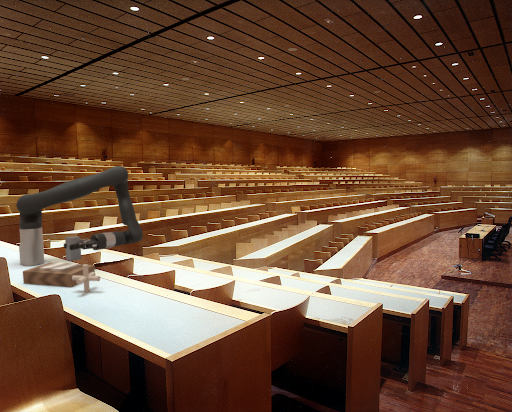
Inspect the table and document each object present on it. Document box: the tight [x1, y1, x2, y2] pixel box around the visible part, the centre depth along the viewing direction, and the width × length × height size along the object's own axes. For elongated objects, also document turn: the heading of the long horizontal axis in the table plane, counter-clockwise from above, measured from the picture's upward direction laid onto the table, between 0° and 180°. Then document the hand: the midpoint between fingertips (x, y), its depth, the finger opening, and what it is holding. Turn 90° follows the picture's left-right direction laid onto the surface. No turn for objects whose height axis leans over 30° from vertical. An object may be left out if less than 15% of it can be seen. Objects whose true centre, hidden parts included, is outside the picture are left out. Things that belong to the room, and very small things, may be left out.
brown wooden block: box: [22, 261, 96, 288], centre depth 153 cm, size 22×14×6 cm, turn 77°
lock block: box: [64, 235, 82, 262], centre depth 166 cm, size 4×4×10 cm
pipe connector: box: [72, 264, 101, 293], centre depth 138 cm, size 10×10×10 cm
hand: (67, 246), depth 164 cm, fingers closed on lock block, 4 cm apart
